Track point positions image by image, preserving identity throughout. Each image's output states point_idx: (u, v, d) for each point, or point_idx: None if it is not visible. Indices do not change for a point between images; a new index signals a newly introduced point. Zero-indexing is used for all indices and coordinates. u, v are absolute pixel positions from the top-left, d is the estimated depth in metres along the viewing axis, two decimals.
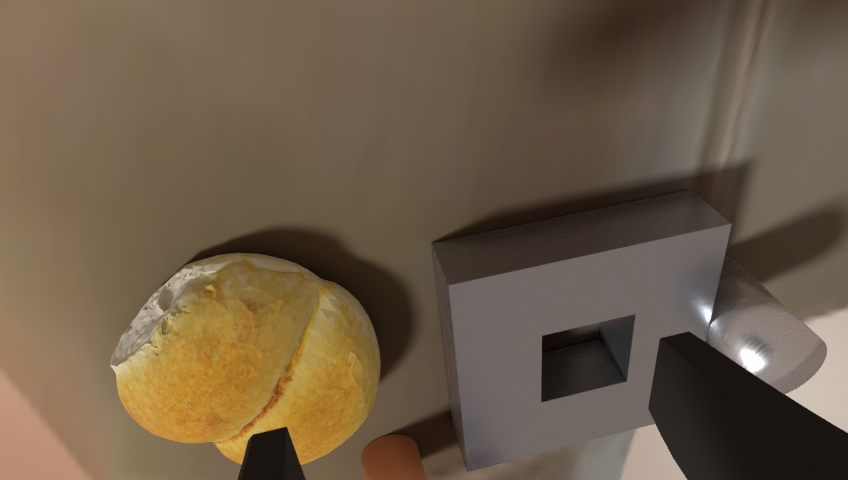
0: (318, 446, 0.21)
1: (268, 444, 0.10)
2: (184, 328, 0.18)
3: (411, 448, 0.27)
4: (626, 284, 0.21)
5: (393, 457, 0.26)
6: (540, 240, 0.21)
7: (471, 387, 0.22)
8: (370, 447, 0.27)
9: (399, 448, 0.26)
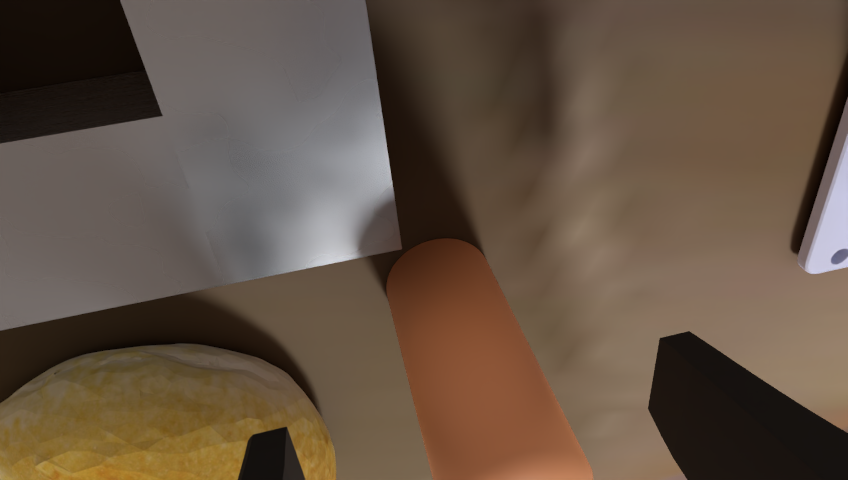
0: None
1: (268, 444, 0.10)
2: None
3: (403, 274, 0.14)
4: None
5: (395, 320, 0.14)
6: None
7: (109, 285, 0.10)
8: None
9: (393, 297, 0.14)
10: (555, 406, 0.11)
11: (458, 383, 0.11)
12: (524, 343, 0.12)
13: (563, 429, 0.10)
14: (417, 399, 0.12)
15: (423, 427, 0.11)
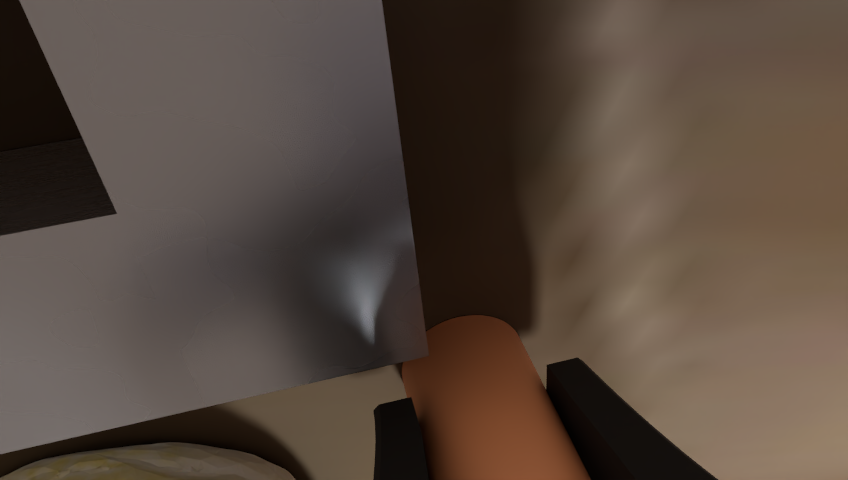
0: None
1: (398, 413, 0.10)
2: None
3: (424, 361, 0.12)
4: None
5: None
6: None
7: (56, 415, 0.08)
8: None
9: (411, 387, 0.12)
10: None
11: None
12: (577, 463, 0.10)
13: None
14: None
15: None
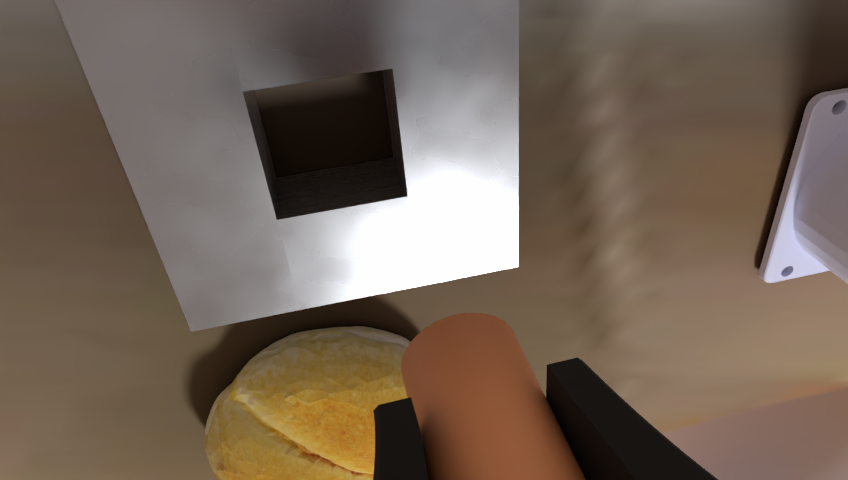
0: None
1: (398, 412, 0.10)
2: None
3: (417, 363, 0.12)
4: (181, 122, 0.14)
5: None
6: None
7: (358, 285, 0.18)
8: None
9: (409, 388, 0.12)
10: None
11: None
12: (563, 452, 0.10)
13: None
14: None
15: None
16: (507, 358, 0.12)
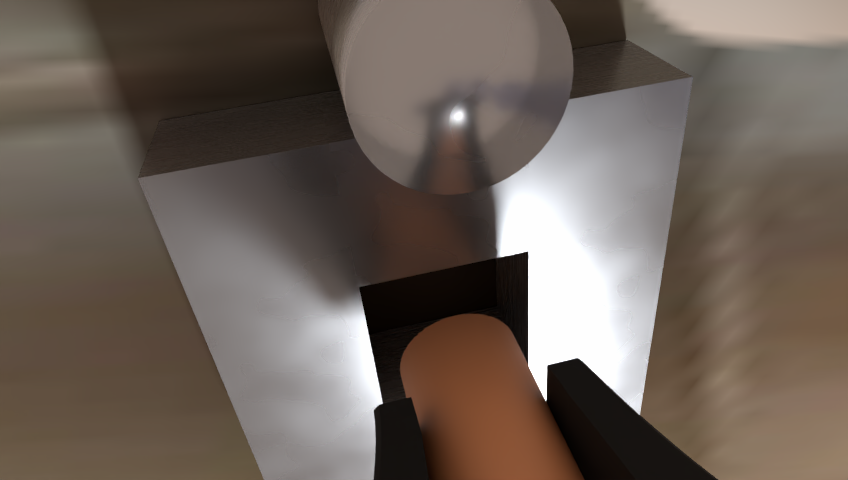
0: None
1: (398, 412, 0.10)
2: None
3: (415, 365, 0.12)
4: (287, 322, 0.12)
5: None
6: None
7: None
8: None
9: (408, 390, 0.12)
10: None
11: None
12: (561, 453, 0.10)
13: None
14: None
15: None
16: (504, 359, 0.12)
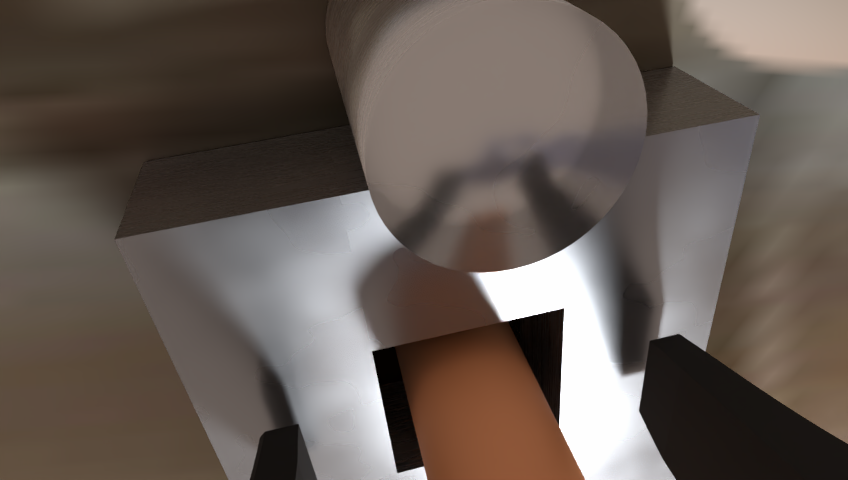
0: None
1: (281, 441, 0.10)
2: None
3: None
4: (291, 391, 0.11)
5: (402, 372, 0.13)
6: None
7: None
8: None
9: (398, 347, 0.13)
10: (571, 472, 0.10)
11: (463, 455, 0.10)
12: (535, 396, 0.11)
13: None
14: (426, 468, 0.11)
15: None
16: None
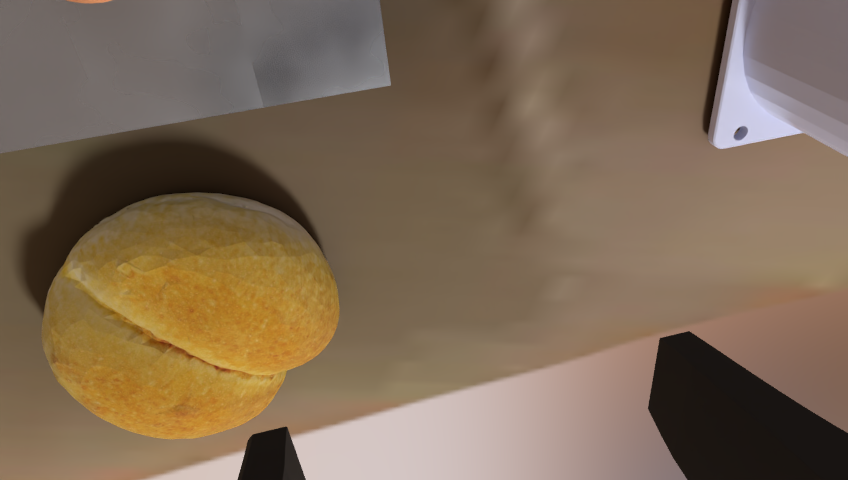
0: (252, 313, 0.17)
1: (269, 444, 0.10)
2: None
3: None
4: None
5: None
6: None
7: (183, 101, 0.14)
8: None
9: None
10: None
11: None
12: None
13: None
14: None
15: None
16: None
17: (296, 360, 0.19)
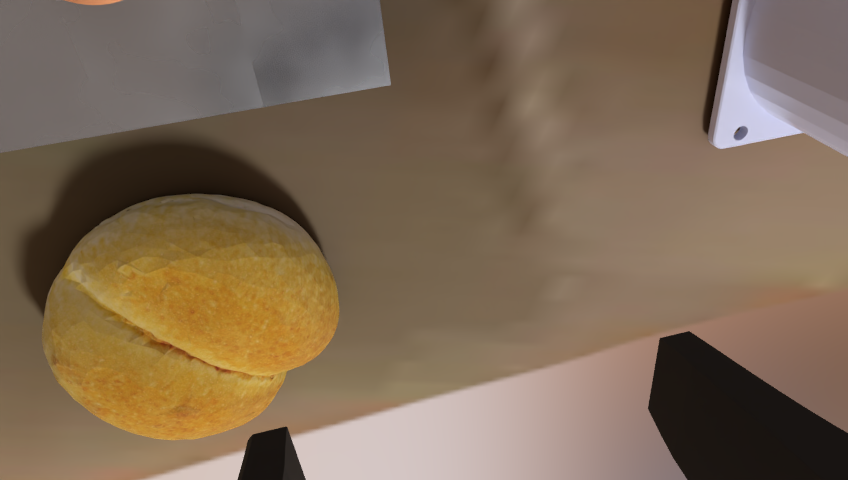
0: (253, 314, 0.17)
1: (268, 444, 0.10)
2: None
3: None
4: None
5: None
6: None
7: (183, 101, 0.14)
8: None
9: None
10: None
11: None
12: None
13: None
14: None
15: None
16: None
17: (296, 361, 0.19)
